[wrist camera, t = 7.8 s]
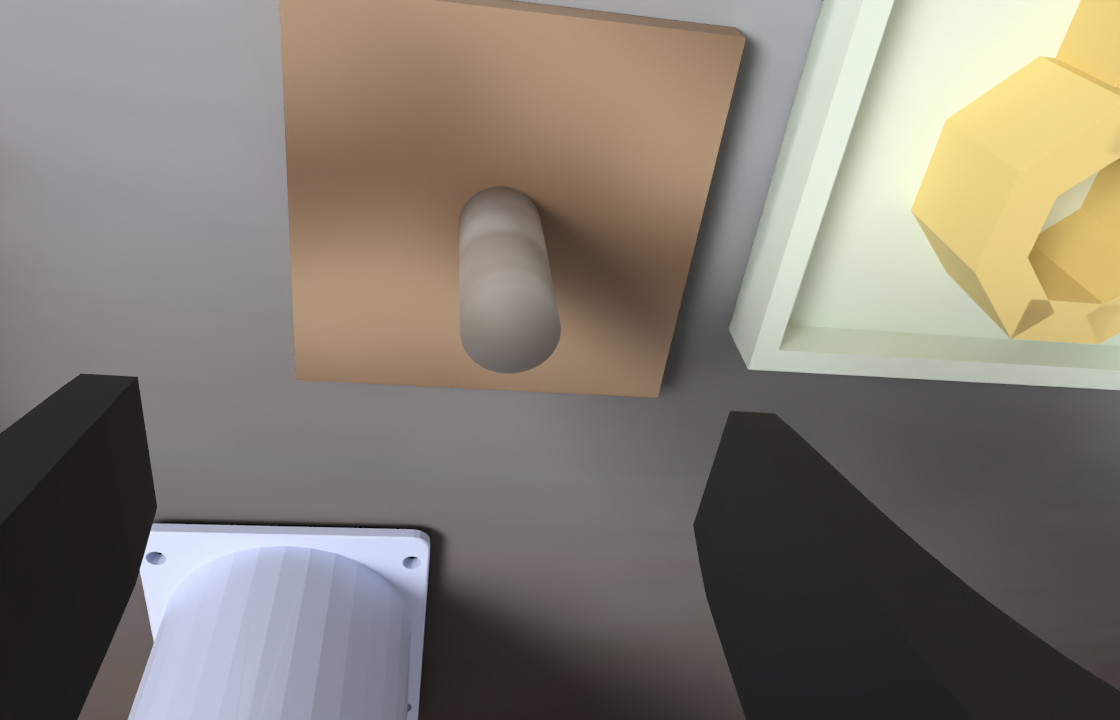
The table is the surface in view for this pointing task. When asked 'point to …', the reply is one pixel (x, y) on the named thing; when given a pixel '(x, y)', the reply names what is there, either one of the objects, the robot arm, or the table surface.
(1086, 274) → the ring
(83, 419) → the robot arm
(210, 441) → the table surface
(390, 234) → the tan square peg base
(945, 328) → the tray
